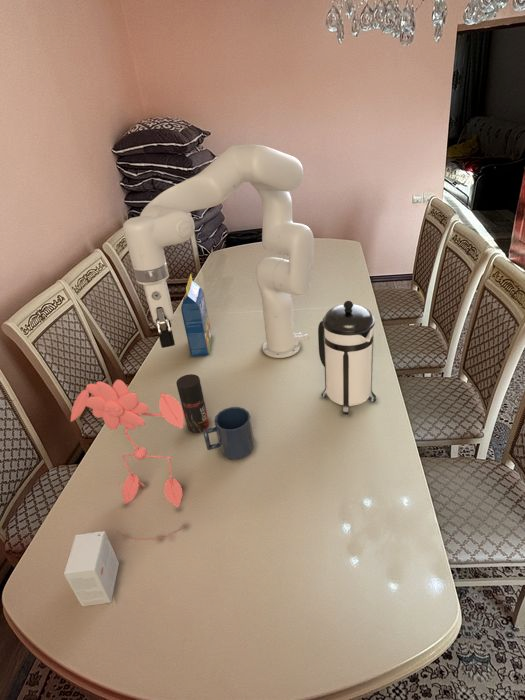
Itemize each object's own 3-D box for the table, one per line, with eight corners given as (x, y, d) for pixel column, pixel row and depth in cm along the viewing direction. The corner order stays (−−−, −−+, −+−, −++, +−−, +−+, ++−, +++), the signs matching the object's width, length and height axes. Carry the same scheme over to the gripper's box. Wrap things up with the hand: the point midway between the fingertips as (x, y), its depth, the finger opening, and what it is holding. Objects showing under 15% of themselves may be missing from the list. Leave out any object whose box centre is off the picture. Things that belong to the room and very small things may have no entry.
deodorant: (205, 434, 119) (195, 388, 111) (184, 432, 120) (172, 387, 112) (212, 419, 124) (202, 374, 116) (191, 418, 125) (181, 373, 117)
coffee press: (379, 383, 130) (384, 287, 114) (371, 419, 117) (375, 317, 101) (320, 376, 135) (316, 284, 120) (307, 410, 123) (301, 312, 107)
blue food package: (190, 356, 152) (175, 289, 139) (195, 338, 163) (181, 274, 150) (209, 355, 152) (196, 287, 139) (212, 337, 162) (200, 272, 149)
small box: (91, 567, 89) (74, 533, 83) (120, 563, 89) (105, 529, 84) (81, 608, 82) (61, 574, 77) (111, 603, 82) (94, 570, 77)
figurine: (113, 479, 108) (66, 357, 90) (215, 490, 102) (186, 362, 84) (78, 534, 96) (14, 405, 78) (191, 551, 90) (151, 415, 71)
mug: (249, 432, 118) (245, 403, 113) (258, 454, 111) (254, 424, 106) (205, 444, 116) (198, 415, 111) (211, 467, 108) (205, 438, 103)
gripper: (171, 283, 97) (185, 350, 106) (165, 257, 111) (178, 319, 120) (135, 289, 96) (153, 357, 105) (134, 263, 110) (150, 324, 119)
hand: (166, 336), depth 112 cm, fingers open, 9 cm apart
